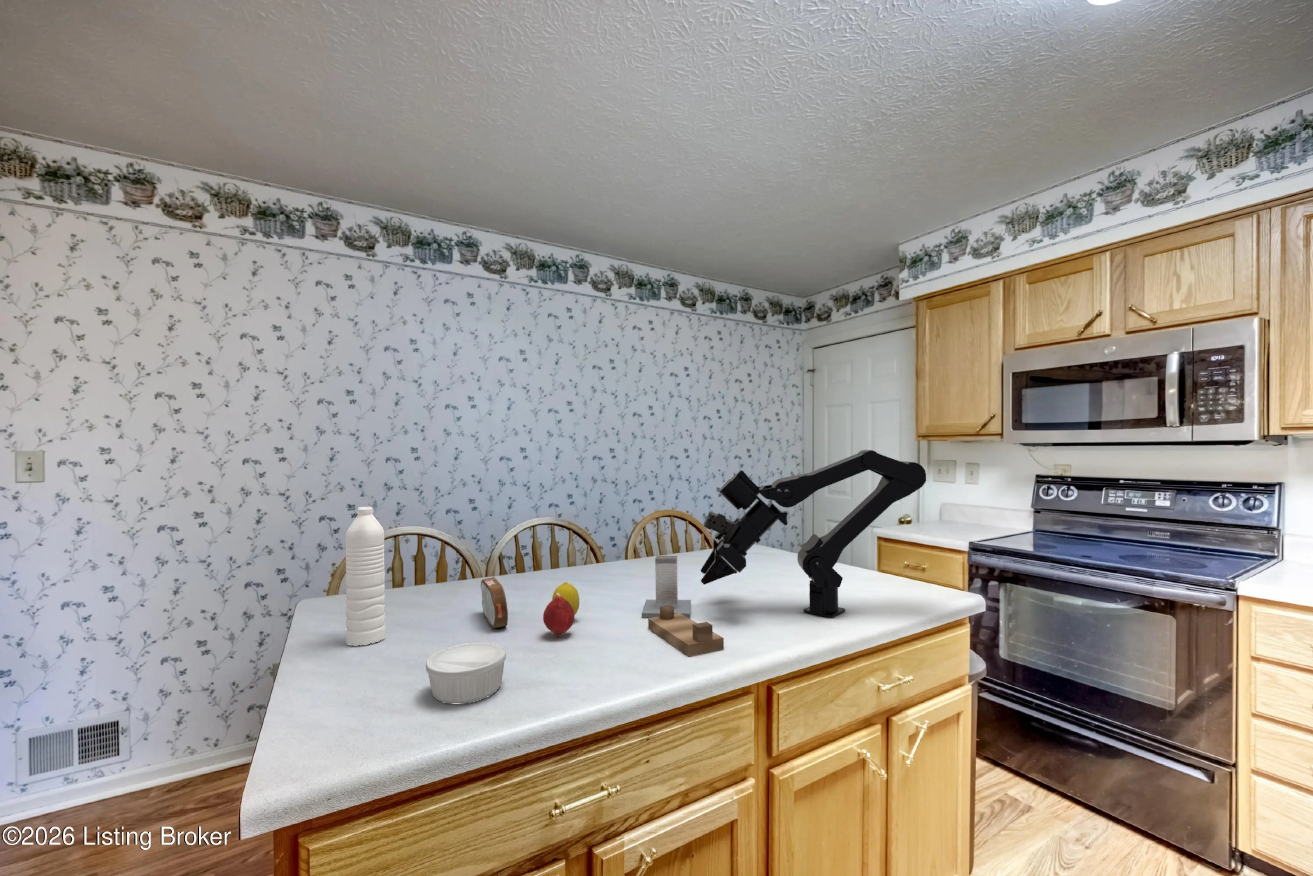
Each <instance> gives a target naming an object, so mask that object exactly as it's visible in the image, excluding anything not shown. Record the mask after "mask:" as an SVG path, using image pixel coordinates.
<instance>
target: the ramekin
mask: <svg viewBox="0 0 1313 876" xmlns="http://www.w3.org/2000/svg"><path fill="white" fill-rule="evenodd" d="M506 659H507V650H506V648H505V647H503V646H502V645H500V644H497V643H492V642H483V641H480V642H465V643H460V644H456V645H452V646H448V647H446V648H443V649H441V650H438V651H437V652H435V653H433V654H432V655H431V656H429V657H428V658H427V660H426V662H425V671H426V672H427V674H428V679H429V684H430V689H431V692H432V696H433V698H435V699H436V700H437V701H438V700H439V701H438V702H440V701H441V702H440V703H442V702H445V703H468V704H470V703H469V702H473V701H477V700H480V699H483V698H485V699H487V698H488V697H487V696H489V697H491V696H492V695H494V694H495V693H496V692H497V691H498V690H499V688H500V686H501V685H502V682H503V675H504V667H505V661H506ZM497 689H498V690H497ZM494 692H495V693H494ZM493 693H494V694H493ZM491 694H492V695H491ZM490 695H491V696H490ZM486 697H487V698H486ZM483 700H484V699H483ZM480 701H481V700H480ZM477 702H478V701H477ZM445 703H444V704H445ZM473 703H474V702H473Z"/></svg>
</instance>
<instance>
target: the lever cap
mask: <svg viewBox="0 0 1313 876" xmlns="http://www.w3.org/2000/svg"><path fill="white" fill-rule="evenodd" d="M654 559H655V560H654V563H655V574H654V575H655V600H656V608H660V606H663V605H671V606H674V609H677V607H678V600H679V594H678V593H679V591H678V588H679V585H678V584H679V583H678V581H679V580H678V555H656V556H655V558H654Z"/></svg>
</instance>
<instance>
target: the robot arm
mask: <svg viewBox="0 0 1313 876" xmlns="http://www.w3.org/2000/svg"><path fill="white" fill-rule="evenodd" d="M866 471H871V472H872V473H875V474H877V475H879V476H881V478H880V479H879V482H878V483H877V486H876V488H875V489H874V490H873V491H872V492H871V493H869V494H868V496H867V497H866V498H864V499H863V500H862V501H861V502H860V503H859V504H858V505H857V506H856V507H855V508H854V509H853V510H852V511H850V513H848V514H847V515H846V516H845V517H844V518H843V519H842V520H841V521H840V522H839V523H838V524H836V526H834V527H833V528H832V529H831V530H830V531H829V532H828V533H826V534H824V535H822V536H821V537H820V536H819V535H817V534H816V533H813V534H812V535H811V536H810V537H809V539H807V541H806V542H804V543H802V544H800V546H799V547H800V550H799V551H798V553H797V563H798V566H799V567H800V569H802V571H803V572H804V573H805V575H807V577H808V578H809V579H810V580H809V584H808V587H809V591H808V592H809V595H808V597H809V598H808V599H809V606H807V607H805V608H803V612H804V613H808V614H812V615H817V616H821V617H826V618H829V619H831V618H834V617H836V616H837V615H840V614H842V613H844V612H845V611H846V609H845V608H844V607H840V606H839V588H840V587H841V585H842V581H843V576H841V574H839V572H837V571H836V570H835V569H834V567H835V565H836V564H837V563H838V560H839V559H840V556H841V554H842V553H843V551H844V549H845V548H846V547H848V545H850V544H851V543H852V542H853V541H854V540H855V539H856V538H858V536H859V535H860V534H861V533H862V532H863V531H864V530H866V529H867V528H868V527H869V526H870V525H871V524H872V523H874V521H876V519H878V518H879V516H881V515H882V514H883V513H884V512H885V511H886V510H887V509H889V507H890V506H892V505H893V504H895V503H896V502H898V501H900V500H902V499H904V498H907V497H908V496H910V495H912V494H913V493H915V492H917V491H918V490H919V489H921V488H922V487H924V485H925V484H926V482H927V472H926V470H925V468H924V467H923V466H922V465H921V464H920V463H918V462H915V461H903V460H902V461H901V460H898V459H896V458H892V457H889V456H886V455H884V454H881V453H878V452H877V451H875V450H871V449H863V450H860V451H858V452H857V453H855V454H852V455H851V456H848V457H845V458H843V459H840V460H838V461H835V462H833V463H830V464H828V465H826V466H823V467H821V468H818V469H815V470H812V471H811V472H807V473H802V474H796V475H789V476H785V477H781V478H778V479H775V480H774V481H773V482H772V484H766V485H760V486H758V485H757V484H756V483H755V482H753V480H752V479H750V478H749V477H748V475H747V473H746V472H745V471H744V470H742V469H741V470H739V471H738V472H737V473H736V474H734V476H732V477H731V478H730V479H729V478H728V480H727V481H726V482H725V483H724V484H723V485H722V486H721V487H720V489H719V490H718V493H719V494H720V495H721V496H722V497H723V498H724V499H726V501H727V502H728V503H730V505H732V506H733V507H734V508H735V509H736V510H738V511H739V510H740V509H742V510H743V511H746V510H747V511H746V512H745V513H744V514H743V515H742V516H741V517H739V518H736V519H734V521H732V519H729V518H727V516H726V515H725V514H724V515H723V514H721V513H720V512H718V513H715V512H713V511H708V513H707V516H706V519H705V520H704V522H703V527H704V528H706V529H708V530H712V531H715V532H716V533H715V535H714V538H713V539H712V544H713V547H712V551H710V554H709V556H708V557H707V559H706V560H705V562H704V564H703V565H702V567H701V569H700V572H701V573H702V574H703V576H702V578H701V579H700V582H701V583H702V585H707V584H709V583H713V582H714V581H717V580H720V579H723V578H725V577H728V576H731V575H733V574H737V573H741V572H742V571H743V570H744V569H745V568H746V567H747V558H746V556H747V555H748V551H749V550H750V549H751V548H752V547H753V546H754V545H755V544H759V542H761V538H762V537H763V535H765V534H766V533H767V531H769V530H770V529H771V527H772V526H773V525H775V523H776V522H777V521H780V523H782V525H784V526H787V525H788V512H787V511H786V510H781V509H779V508H778V507H777V506H776V505H775V504H774V503H773V502H775V503H776V504H777V505H778V506H779V507H782V508H786V509H787V508H789V509H790V508H792V507H795V506H797V505H798V504H800V503H801V502H803V501H804V500H806V499H808V498H809V497H810V496H812V495H813V494H814V493H816V492H817V491H819V490H821V489H824V488H825V487H826V488H827V487H829V486H832V485H834V484H836V483H838V482H841V481H843V480H846V479H848V478H851V477H853V476H856V475H858V474H861V473H864V472H866ZM758 495H761V497H763V498H765V499H766V500H771V501H773V502H769V503H767V504H766V503H765V502H764V501H763V500H762V499H761V497H759V496H758ZM755 501H756V502H755ZM754 502H755V503H754ZM753 503H754V504H753ZM750 506H751V507H750ZM749 507H750V509H749Z"/></svg>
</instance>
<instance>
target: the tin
mask: <svg viewBox="0 0 1313 876" xmlns="http://www.w3.org/2000/svg"><path fill="white" fill-rule="evenodd" d="M480 589H481V606H482V611H483V615H484V618H486V620H487V622H488V623H489V625H490V626H491V628H492V629H499V628H504V626H505V628H506V627H507V626H508V619H509V612H508V602H507V598H506V597H507V596H506V593H505V589H504V587H503V584H501V582H500V581H499V580H498V579H497V578H496V577H495V576H492V577H487V578H483V579H481V581H480Z"/></svg>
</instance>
